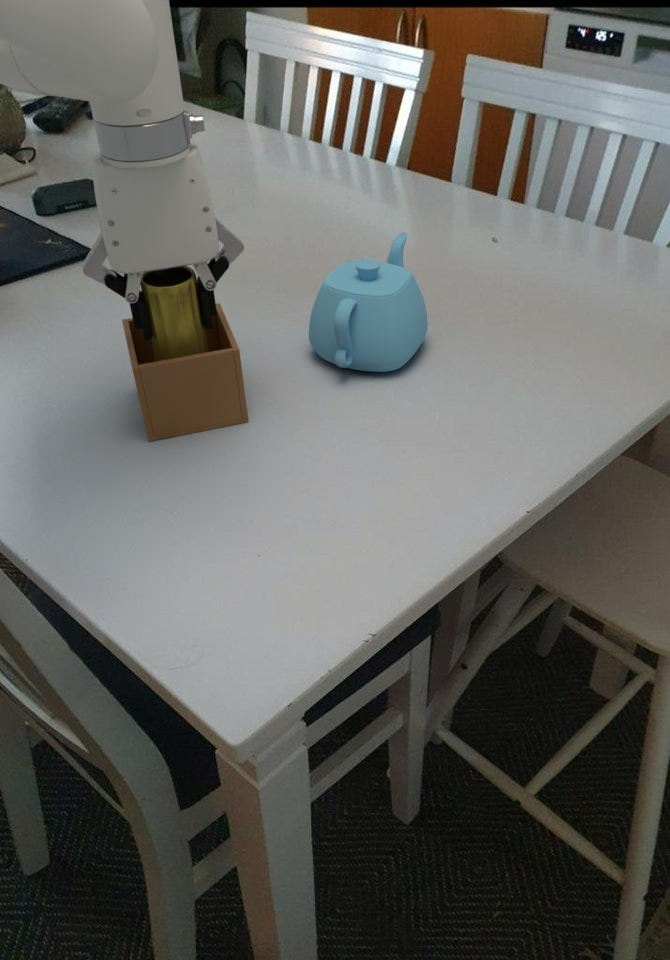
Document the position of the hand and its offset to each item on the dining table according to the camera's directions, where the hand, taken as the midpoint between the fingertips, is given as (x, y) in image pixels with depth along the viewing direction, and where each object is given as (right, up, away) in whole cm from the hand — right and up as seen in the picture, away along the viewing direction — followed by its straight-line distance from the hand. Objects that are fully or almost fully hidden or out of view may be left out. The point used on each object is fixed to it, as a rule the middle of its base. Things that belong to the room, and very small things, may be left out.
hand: (176, 326), depth 80 cm
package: (0, -7, +6) cm, 9 cm away
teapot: (+20, 0, +14) cm, 25 cm away
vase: (0, -7, +6) cm, 9 cm away
